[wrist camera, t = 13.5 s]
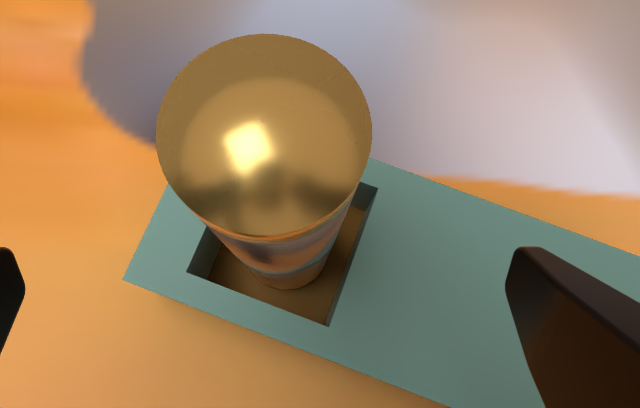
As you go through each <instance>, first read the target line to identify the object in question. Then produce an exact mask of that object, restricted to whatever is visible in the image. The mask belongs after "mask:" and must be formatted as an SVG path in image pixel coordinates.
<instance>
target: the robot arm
mask: <svg viewBox="0 0 640 408" xmlns="http://www.w3.org/2000/svg"><path fill="white" fill-rule="evenodd" d="M505 293H506V297H507V300H508V304H509V307H510V310H511V313H512V317H513V320H514V323H515V326H516V330H517V333H518V336H519V340H520V343H521V346H522V349H523V353H524V356H525V359H526V362H527V365H528V368H529V370H530V372H531V375H532V377H533V380H534V382H535V385H536V387H537V389H538V391H539V394H540V396H541V398H542V401H543V403H544V405H545V408H640V303H639V302H637V301H636V300H634V299H632V298H630V297H629V296H627V295H625V294H623V293H622V292H620V291H618V290H616V289H614V288H613V287H611V286H609V285H607V284H606V283H604V282H602V281H600V280H599V279H597V278H595V277H593V276H591V275H590V274H588V273H586V272H584V271H583V270H581V269H579V268H577V267H576V266H574V265H572V264H570V263H568V262H567V261H565V260H563V259H561V258H560V257H558V256H556V255H554V254H553V253H551V252H549V251H547V250H546V249H544V248H542V247H538V246H521V247H518V248H517V249H516V250H515V251H514V253H513V256H512V260H511V263H510V266H509V270H508V273H507V277H506V280H505ZM24 295H25V283H24V280H23V277H22V275H21V272H20V270H19V267H18V264H17V262H16V259H15V257H14V254H13V252H12V251H11V250H10V249H8V248H6V247H0V354H1V352H2V349H3V347H4V345H5V342H6V340H7V337H8V335H9V332H10V330H11V328H12V325H13V323H14V320H15V318H16V316H17V313H18V311H19V308H20V306H21V303H22V301H23V299H24Z"/></svg>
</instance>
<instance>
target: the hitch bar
mask: <svg viewBox="0 0 640 408" xmlns="http://www.w3.org/2000/svg"><path fill="white" fill-rule="evenodd" d="M350 206H353V207H355V208H358V209H361V210H363V211H365V213H364V216H363V218H362V221H361V224H360V227H359V230H358V232H357V235H356V238H355V241H354V244H353V246H352V249H351V252H350V255H349V257H348V260H347V263H346V266H345V269H344V271H343V274H342V277H341V280H340V282H339V285H338V288H337V291H336V294H335V296H334V299H333V302H332V305H331V308H330V310H329V313H328V316H327V319H326V321H325V324H324V325H322V324H319V323H317V322H314V321H311V320H309V319H306V318H304V317H301V316H298V315H296V314H293V313H291V312H288V311H285V310H283V309H280V308H278V307H275V306H272V305H270V304H267V303H265V302H262V301H259V300H257V299H254V298H252V297H249V296H247V295H244V294H241V293H239V292H236V291H234V290H231V289H228V288H226V287H223V286H221V285H218V284H215V283H213V282H210V281H208V280H207V278H208V276H209V273H210V271H211V269H212V266H213V264H214V262H215V259H216V257H217V255H218V253H219V250H220V248H221V246H222V242H221V240H220V239H219V238H218V237H217V236H216V235H215V234H214V233H213V232H212V231H211V230H210V229H209V228H208V227H207V226H206V225H205V224H204V223H203V222H202V221H201V220H200V219H199V218H198V217H197V216H196V215H195V214H194V213H193V212H192V211H191V210H190V209H189V208H188V206H187V205H186V204H185V203H184V202H183V201H182V200H181V199H180V198H179V197H178V196H177V195H176V193H175V192H174V190H173V189H172V187H171V186H170V185H169V183H168V185H167V187H166V189H165V191H164V193H163V195H162V198H161V200H160V202H159V204H158V206H157V208H156V210H155V212H154V214H153V216H152V218H151V221H150V223H149V225H148V227H147V229H146V231H145V233H144V235H143V237H142V239H141V241H140V243H139V246H138V248H137V250H136V252H135V254H134V256H133V258H132V260H131V262H130V264H129V266H128V268H127V271H126V273H125V275H124V277H123V279H122V280H124V281H127V282H129V283H132V284H134V285H137V286H139V287H142V288H145V289H147V290H150V291H152V292H155V293H157V294H160V295H163V296H165V297H168V298H170V299H173V300H175V301H178V302H181V303H183V304H186V305H188V306H191V307H193V308H196V309H199V310H201V311H204V312H206V313H209V314H211V315H214V316H217V317H219V318H222V319H224V320H227V321H229V322H232V323H235V324H237V325H240V326H242V327H245V328H247V329H250V330H253V331H255V332H258V333H260V334H263V335H265V336H268V337H271V338H273V339H276V340H278V341H281V342H283V343H286V344H288V345H291V346H294V347H296V348H299V349H301V350H304V351H306V352H309V353H312V354H314V355H317V356H319V357H322V358H324V359H327V360H330V361H332V362H335V363H337V364H340V365H342V366H345V367H348V368H350V369H353V370H355V371H358V372H360V373H363V374H366V375H368V376H371V377H373V378H376V379H378V380H381V381H384V382H386V383H389V384H391V385H394V386H396V387H399V388H402V389H404V390H407V391H409V392H412V393H414V394H417V395H420V396H422V397H425V398H427V399H430V400H432V401H435V402H438V403H440V404H443V405H445V406H448V407H450V408H545V405H544V403H543V401H542V398H541V396H540V394H539V391H538V389H537V387H536V385H535V382H534V380H533V377H532V375H531V372H530V370H529V368H528V365H527V362H526V359H525V356H524V353H523V349H522V346H521V343H520V340H519V336H518V333H517V330H516V326H515V323H514V320H513V317H512V313H511V310H510V307H509V304H508V300H507V297H506V293H505V280H506V277H507V273H508V270H509V266H510V263H511V260H512V256H513V253H514V251H515V250H516V249H517V248H518V247H521V246H538V247H542V248H544V249H546V250H547V251H549V252H551V253H553V254H554V255H556V256H558V257H560V258H561V259H563V260H565V261H567V262H568V263H570V264H572V265H574V266H576V267H577V268H579V269H581V270H583V271H584V272H586V273H588V274H590V275H591V276H593V277H595V278H597V279H599V280H600V281H602V282H604V283H606V284H607V285H609V286H611V287H613V288H614V289H616V290H618V291H620V292H622V293H623V294H625V295H627V296H629V297H630V298H632V299H634V300H636V301H637V302H639V303H640V257H639V256H637V255H634V254H631V253H628V252H626V251H623V250H620V249H617V248H615V247H612V246H609V245H607V244H604V243H601V242H598V241H596V240H593V239H590V238H587V237H585V236H582V235H579V234H576V233H574V232H571V231H568V230H566V229H563V228H560V227H557V226H555V225H552V224H549V223H546V222H544V221H541V220H538V219H536V218H533V217H530V216H527V215H525V214H522V213H519V212H516V211H514V210H511V209H508V208H505V207H503V206H500V205H497V204H495V203H492V202H489V201H486V200H484V199H481V198H478V197H475V196H473V195H470V194H467V193H464V192H462V191H459V190H456V189H454V188H451V187H448V186H445V185H443V184H440V183H437V182H434V181H432V180H429V179H426V178H423V177H421V176H418V175H415V174H413V173H410V172H407V171H404V170H402V169H399V168H396V167H393V166H391V165H388V164H385V163H383V162H380V161H377V160H374V159H371V158H368V162H367V165H366V167H365V170H364V172H363V175H362V177H361V179H360V182H359V184H358V187H357V189H356V191H355V194H354V196H353V199H352V201H351V204H350Z"/></svg>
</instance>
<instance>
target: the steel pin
mask: <svg viewBox="0 0 640 408" xmlns="http://www.w3.org/2000/svg"><path fill="white" fill-rule="evenodd" d="M371 141H372V124H371V118H370V112H369V108H368V105H367V102H366V99H365V97H364V95H363V93H362V90H361V88H360V87H359V85H358V84H357V82H356V80H355V79H354V77H353V76H352V75H351V74H350V72H349V71H348V70H347V69H346V68H345V67H344V66H343V65H342V64H341V63H340V62H339V61H338V60H337V59H336V58H334V57H333V56H332V55H330V54H329V53H327V52H326V51H324V50H322V49H320V48H319V47H317V46H315V45H313V44H311V43H308V42H306V41H303V40H300V39H297V38H293V37H289V36H283V35H276V34H256V35H247V36H242V37H237V38H233V39H230V40H227V41H224V42H222V43H219V44H217V45H215V46H213V47H211V48H209V49H208V50H206V51H204V52H203V53H201V54H199V55H198V56H197V57H196V58H194V59H193V60H192V61H190V62H189V63H188V64H187V65H186V66H185V67H184V68H183V69H182V70H181V72H180V73H179V74H178V75H177V76H176V78H175V79H174V81H173V82H172V83H171V85H170V87H169V88H168V90H167V92H166V94H165V96H164V99H163V101H162V104H161V106H160V110H159V114H158V118H157V125H156V147H157V153H158V158H159V162H160V165H161V168H162V171H163V173H164V175H165V177H166V179H167V181H168V183H169V185H170V186H171V187H172V189H173V190H174V192H175V193H176V195H177V196H178V197H179V198H180V199H181V200H182V201H183V202H184V203H185V204H186V205H187V206H188V208H189V209H190V210H191V211H192V212H193V213H194V214H195V215H196V216H197V217H198V218H199V219H200V220H201V221H202V222H203V223H204V224H205V225H206V226H207V227H208V228H209V229H210V230H211V231H212V232H213V233H214V234H215V235H216V236H217V237H218V238H219V239H220V240H221V242H222V243H223V244H224V245H225V246H226V247H227V248H228V249H229V250H230V251H231V252H232V253H233V254H234V255H235V256H236V257H237V258H238V259H239V260H240V261H241V262H242V263H243V264H244V265H245V266H246V267H247V268H248V269H249V270H250V271H251V272H252V273H253V274H254V276H255V277H256V278H257V279H259V280H260V281H261V282H262V283H264V284H266V285H268V286H270V287H273V288H276V289H282V290H290V289H296V288H300V287H302V286H305V285H307V284H308V283H310V282H311V281H313V280H314V279H315V278H316V277H317V276H318V275H319V274H320V272H321V271H322V270H323V268H324V266H325V264H326V261H327V259H328V257H329V254H330V252H331V249H332V247H333V245H334V242H335V240H336V237H337V235H338V232H339V230H340V228H341V225H342V223H343V220H344V218H345V216H346V213H347V211H348V208H349V206H350V204H351V201H352V199H353V196H354V194H355V191H356V189H357V187H358V184H359V182H360V179H361V177H362V175H363V172H364V170H365V167H366V165H367V162H368V158H369V154H370V150H371Z"/></svg>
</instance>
